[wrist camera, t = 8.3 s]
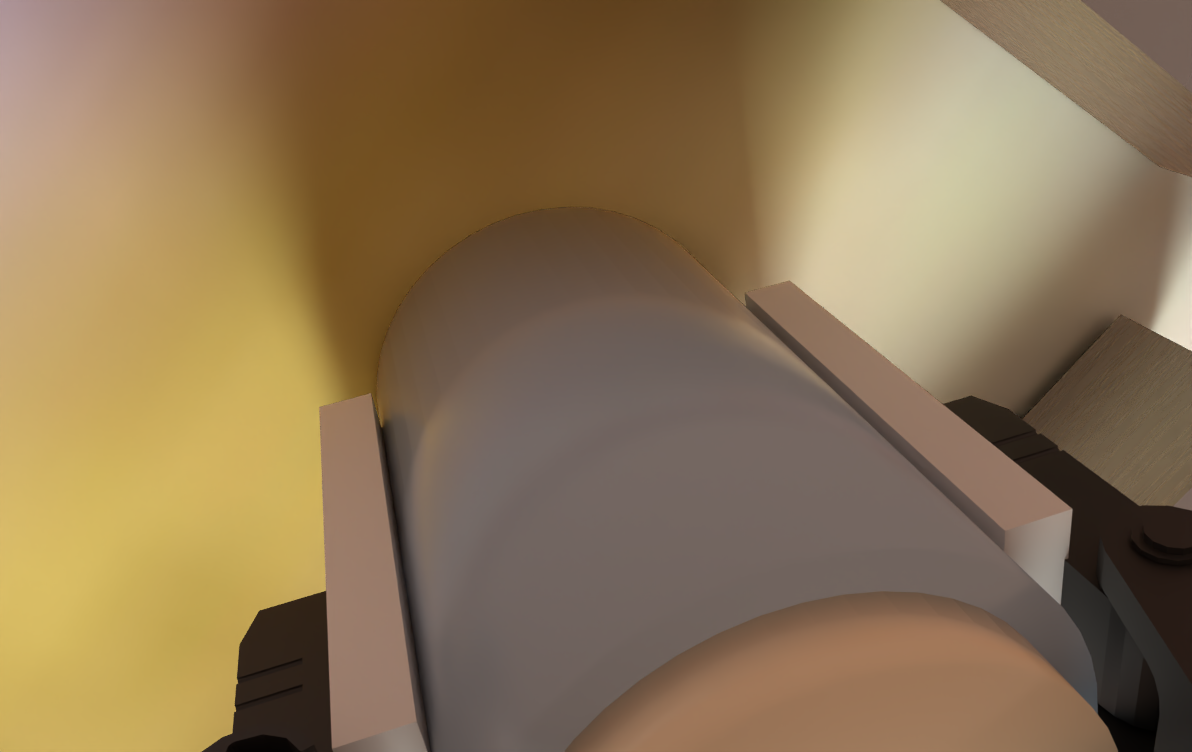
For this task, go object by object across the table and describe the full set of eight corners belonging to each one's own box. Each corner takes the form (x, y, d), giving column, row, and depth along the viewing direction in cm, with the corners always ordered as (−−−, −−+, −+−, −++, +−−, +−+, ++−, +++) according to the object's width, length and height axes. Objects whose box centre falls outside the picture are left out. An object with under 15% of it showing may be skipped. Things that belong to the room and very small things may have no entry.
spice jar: (393, 188, 14) (533, 632, 6) (765, 225, 16) (1281, 602, 8) (362, 534, 17) (426, 1208, 8) (689, 532, 18) (1018, 1081, 10)
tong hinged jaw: (1109, 306, 19) (1284, 395, 15) (1158, 358, 20) (1333, 454, 16) (568, 884, 22) (617, 1062, 18) (633, 905, 23) (691, 1078, 19)
